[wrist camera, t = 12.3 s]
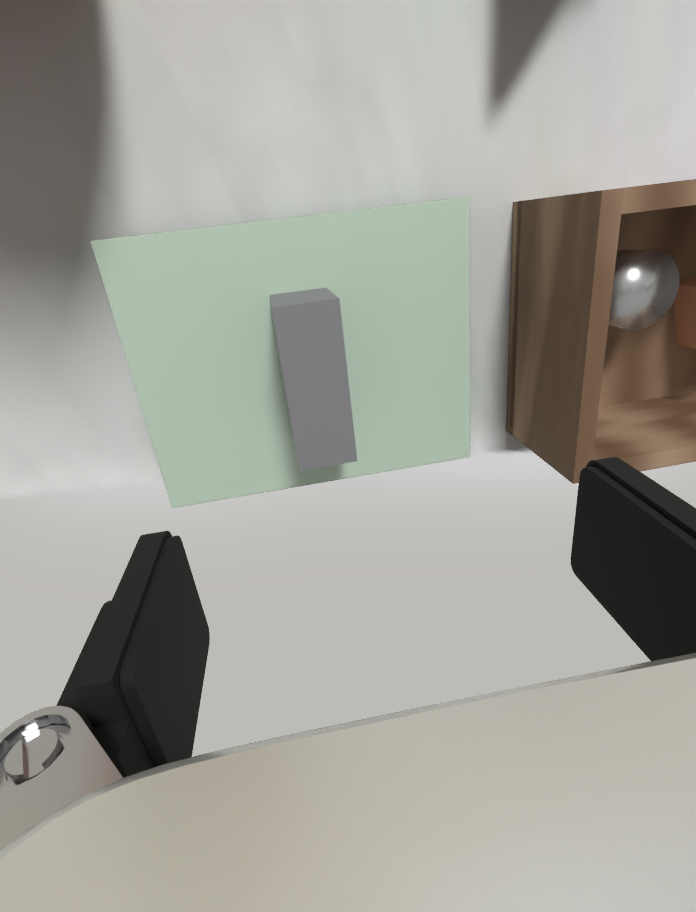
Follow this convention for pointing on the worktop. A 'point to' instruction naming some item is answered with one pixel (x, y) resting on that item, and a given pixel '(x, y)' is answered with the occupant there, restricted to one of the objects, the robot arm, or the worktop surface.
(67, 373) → the worktop surface
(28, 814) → the robot arm
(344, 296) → the lid
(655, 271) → the shiny steel ball
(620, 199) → the box
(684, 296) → the terracotta cube
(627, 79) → the worktop surface
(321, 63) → the worktop surface
